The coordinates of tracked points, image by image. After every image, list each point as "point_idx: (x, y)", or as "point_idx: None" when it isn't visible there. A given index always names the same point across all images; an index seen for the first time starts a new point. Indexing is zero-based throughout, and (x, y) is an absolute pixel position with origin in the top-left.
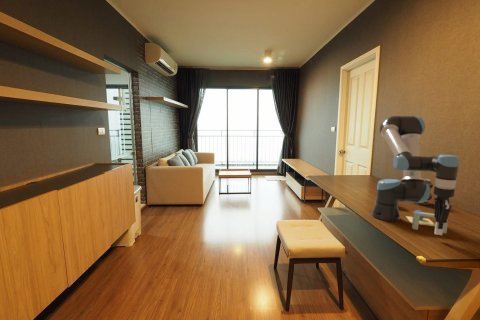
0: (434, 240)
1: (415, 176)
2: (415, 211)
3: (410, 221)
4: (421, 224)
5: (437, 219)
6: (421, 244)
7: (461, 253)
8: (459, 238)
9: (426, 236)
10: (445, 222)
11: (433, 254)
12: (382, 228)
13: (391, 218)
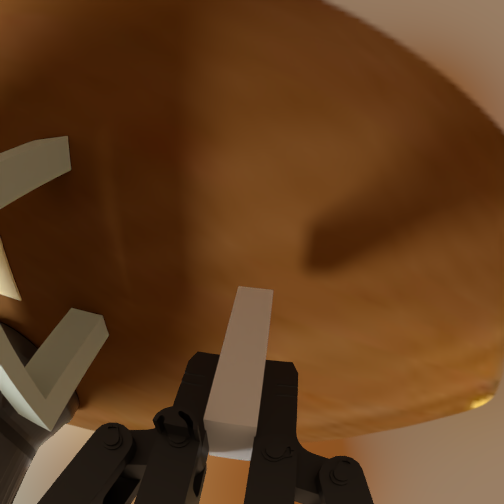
0: (277, 298)
1: None
2: (13, 406)
3: (3, 292)
4: (3, 250)
5: (204, 465)
6: (368, 386)
7: (485, 218)
8: (134, 56)
9: (209, 318)
10: (357, 471)
11: (476, 368)
12: None
13: None
